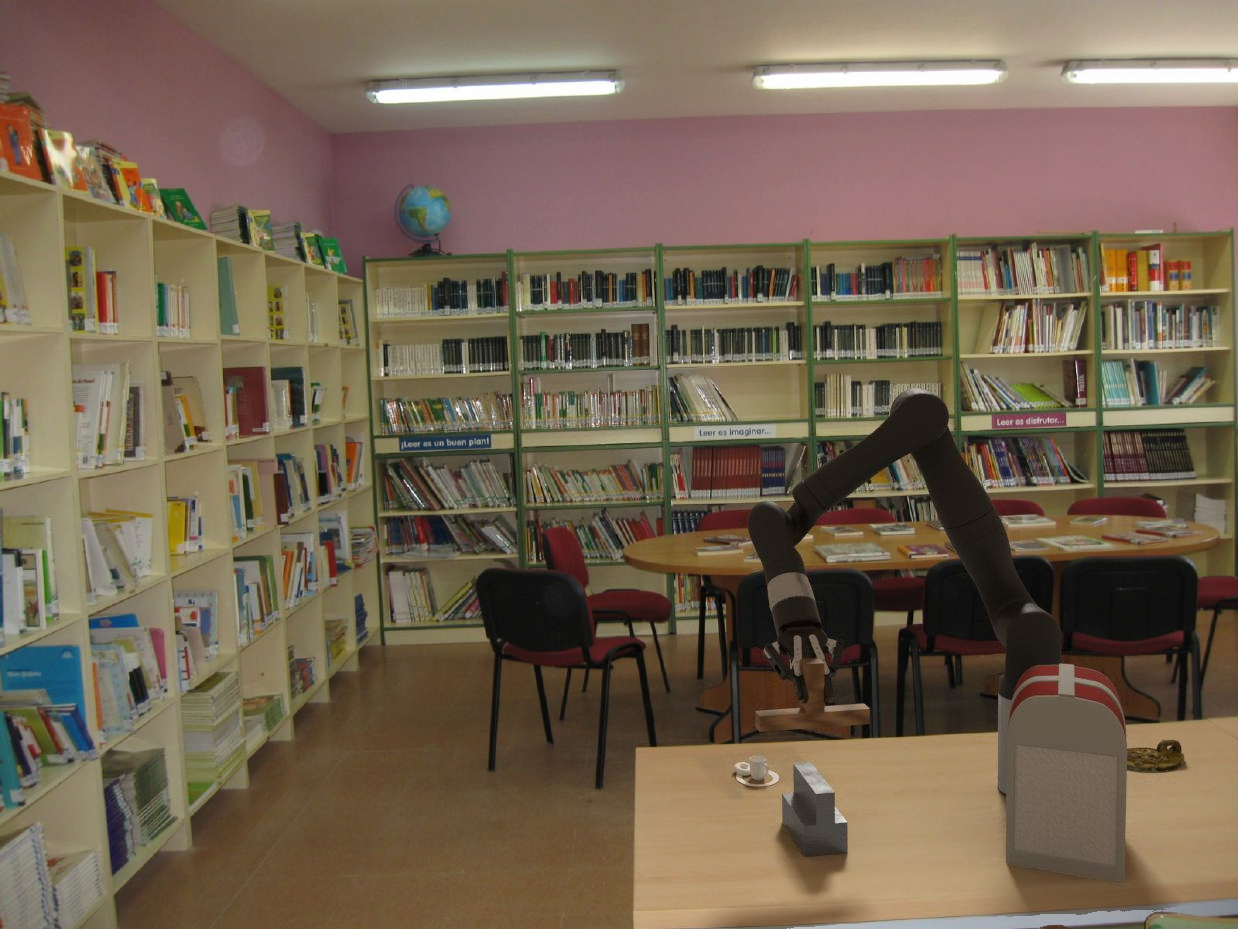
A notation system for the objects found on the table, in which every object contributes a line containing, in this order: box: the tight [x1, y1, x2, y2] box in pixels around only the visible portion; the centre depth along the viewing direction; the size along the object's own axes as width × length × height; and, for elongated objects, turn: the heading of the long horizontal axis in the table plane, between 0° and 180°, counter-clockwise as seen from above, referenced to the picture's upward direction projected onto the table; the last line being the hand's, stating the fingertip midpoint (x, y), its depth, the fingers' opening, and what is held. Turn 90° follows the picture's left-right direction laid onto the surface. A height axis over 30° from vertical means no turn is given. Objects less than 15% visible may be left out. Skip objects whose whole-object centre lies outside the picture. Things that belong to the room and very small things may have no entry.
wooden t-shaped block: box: [754, 658, 871, 733], centre depth 159 cm, size 18×3×10 cm, turn 97°
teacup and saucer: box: [733, 755, 780, 788], centre depth 185 cm, size 9×8×4 cm
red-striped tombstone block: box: [1005, 663, 1128, 884], centre depth 155 cm, size 17×18×27 cm
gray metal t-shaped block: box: [781, 761, 849, 858], centre depth 161 cm, size 12×7×10 cm, turn 7°
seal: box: [1127, 739, 1185, 773], centre depth 187 cm, size 9×5×15 cm
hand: (816, 700), depth 157 cm, fingers closed on wooden t-shaped block, 3 cm apart
